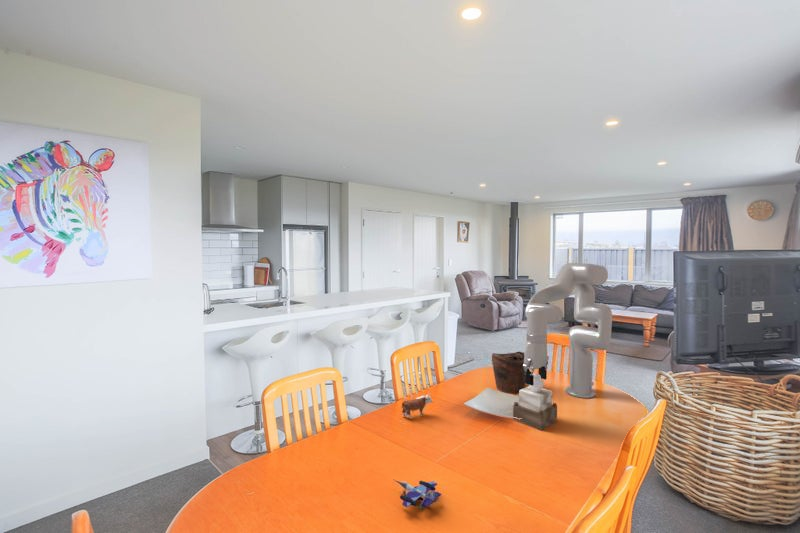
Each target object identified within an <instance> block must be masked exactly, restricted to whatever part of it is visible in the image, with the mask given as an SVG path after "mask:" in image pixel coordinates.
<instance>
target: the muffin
mask: <svg viewBox="0 0 800 533" xmlns="http://www.w3.org/2000/svg"><path fill="white" fill-rule="evenodd" d="M533 375H534V384H533V386H531V385H528V386H529V387H530V389H531V391H533V392H540V390H541V389H542V388H543V387H544V385H545V382H544V379H542V378H541V376H540V375H539V374H538V373H536V372H535V373H534V372H533Z"/></svg>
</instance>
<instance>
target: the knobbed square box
mask: <svg viewBox="0 0 800 533" xmlns="http://www.w3.org/2000/svg"><path fill="white" fill-rule="evenodd" d="M512 407H513V409H512V411H513V412H512V418H513V417H517V418H522V419H520V420H519V419H516V418H513V419H512V421H515V422H518V423H520V424H523V425H525V426H528V427H531V428H534V429H536V430H539V431H544V430H545V429H547V428H548V427H550V426H552V425H553V424H555V423H556V422H558V404H557V403H556V402H553V391H552V390H549V389H546V388H543V387H542V389H541V390H540V392H533V391H531V389H530V387H529V385H528V386H525V388H523V389H521V390H519V393H518V402H517V401H514V402H513V405H512Z"/></svg>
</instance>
